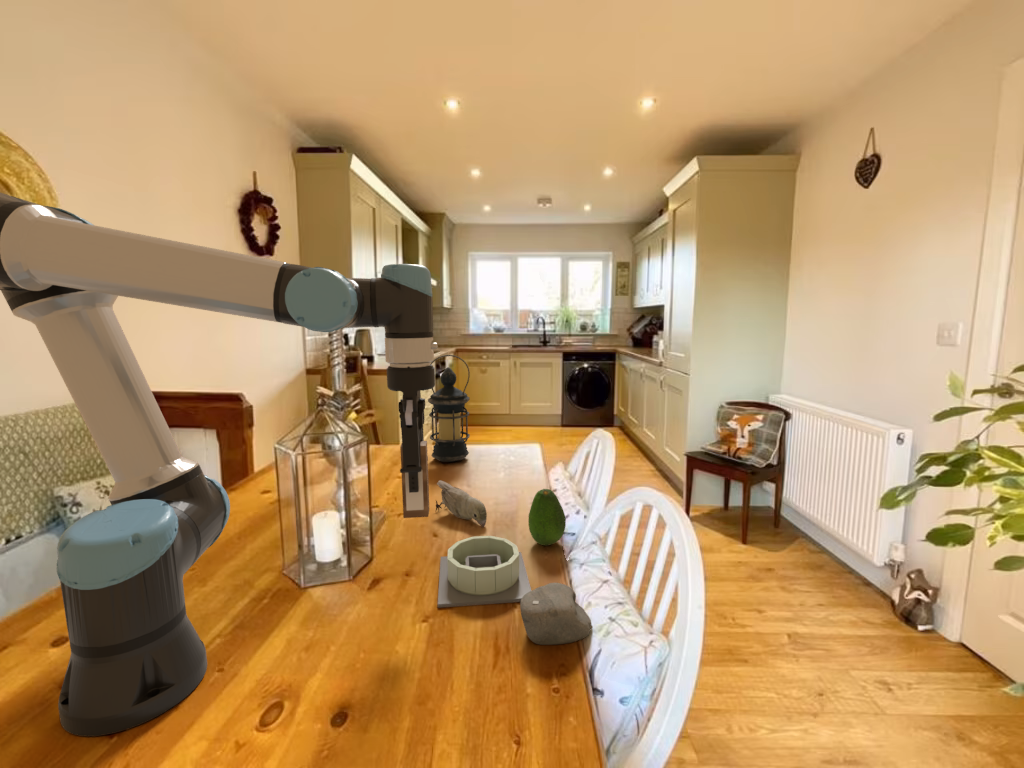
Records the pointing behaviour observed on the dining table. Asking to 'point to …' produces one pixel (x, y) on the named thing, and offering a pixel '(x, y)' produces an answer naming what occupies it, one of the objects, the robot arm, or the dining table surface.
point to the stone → (554, 615)
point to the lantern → (449, 418)
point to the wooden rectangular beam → (425, 485)
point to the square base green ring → (482, 573)
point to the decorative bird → (462, 503)
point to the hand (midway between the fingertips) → (416, 504)
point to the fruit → (546, 518)
